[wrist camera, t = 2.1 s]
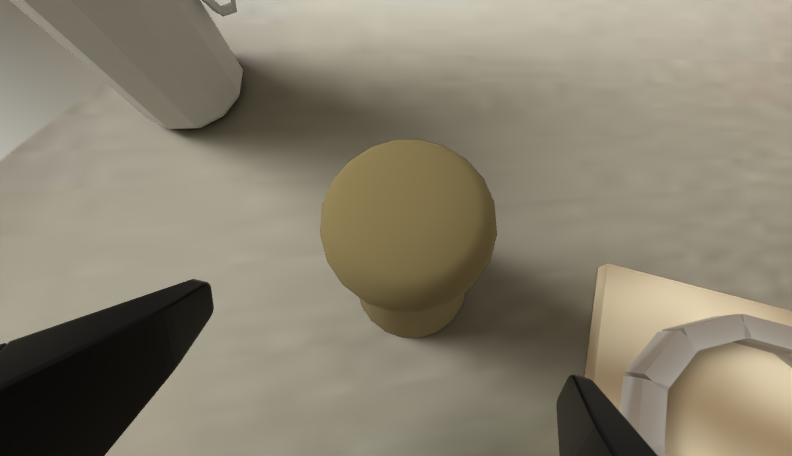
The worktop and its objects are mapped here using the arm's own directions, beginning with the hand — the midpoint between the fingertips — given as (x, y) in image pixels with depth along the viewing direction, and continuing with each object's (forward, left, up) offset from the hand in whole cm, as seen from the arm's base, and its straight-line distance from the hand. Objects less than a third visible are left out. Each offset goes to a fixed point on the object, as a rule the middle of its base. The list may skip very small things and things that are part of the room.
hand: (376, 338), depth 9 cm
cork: (+3, 0, -11) cm, 11 cm away
